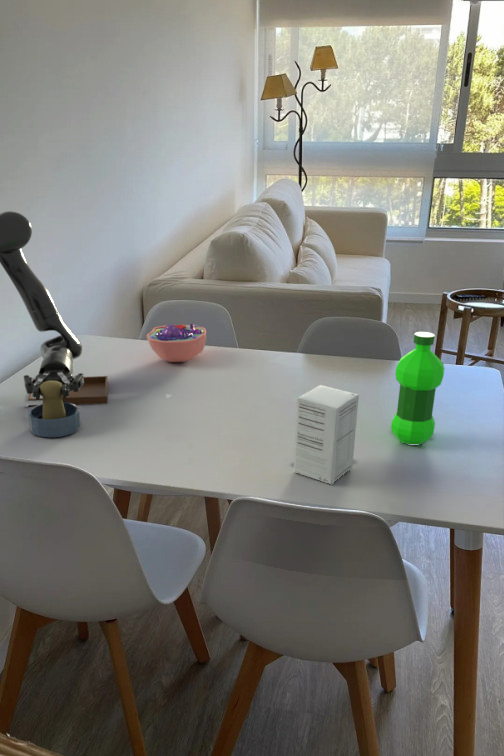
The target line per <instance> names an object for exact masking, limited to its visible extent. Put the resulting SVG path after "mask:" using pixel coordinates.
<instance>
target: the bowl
mask: <svg viewBox="0 0 504 756" xmlns="http://www.w3.org/2000/svg"><path fill="white" fill-rule="evenodd" d="M63 404H64V408H65V412H66V416H67V417H65V418H60V419H50V420H46V419H42V415H43V403H40V404H36V405H37V406H34V407H30V409H28V413H27V417H28V418H27V419H28V424H29V431H30V432H31V433H32V435H35V436H38V437H43V438H61V437H66V436H69V435H72V434H74V433H76V432H77V431H79V430H80V429H81V426H82V424H81V422H82V421H81V413H80V411H81V410H80V407H79V405H75V404H72V403H68V402H63Z"/></svg>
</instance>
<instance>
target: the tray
mask: <svg viewBox="0 0 504 756" xmlns="http://www.w3.org/2000/svg"><path fill="white" fill-rule="evenodd" d="M83 377H84V385H83V386H82V387H81V389H80V390H79V391H78V392H74V391H73V390H72V391H71V392H70V395H69V396H67V397H66V398H63V394H62V400H63V402H68V403H72V404H75V405H77V406H84V405H105V404H108V399H109V376H108V375H99V376H98V375H97V376H83ZM72 383H73V382H72ZM27 397H28V398H27V401H29V402H30V401H43V397H40V399H36V397H33V393H31V394H28V396H27ZM37 405H38V404H29V405H28V408H33V407H34V406H37Z"/></svg>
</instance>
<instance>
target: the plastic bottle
mask: <svg viewBox="0 0 504 756" xmlns="http://www.w3.org/2000/svg"><path fill="white" fill-rule="evenodd" d="M435 336H436V335H435V334H434V333H433V332H428V331H416V332H415V333H414V336H413V337H414V338H413V343H414V344H415V348H414V349H413V350H410V351H409V352H407V353H406V354H405V355H404V356H402V357H400V359H399V361H398V363H397V365H396V368H395V380H396V382H398V383H399V392H398V399H397V400H398V401H397V409H396V412H395V413H394V416H393V418H392V421H391V425H390V429H391V432H392V434H393V435H394V436H395V437H396V438H397V439H398V441H399V442H400V441H401V442H400V443H402V442H404V443H407V444H420V443H422V444H423V443H425V442H428V441H429V440H430V439H431V438H432V436H433V435H434V432H435V426H436V422H435V419H434V416H433V411H434V403H435V397H436V391H437V390H436V389H437V388H438V387H440V386H441V384H442V382H443V379H444V375H445V365H444V362H443V361H442V360H441V358H439V357H438V355H436V354H435V353H434V352H433V351H432V350H431V347H432V345H434V343H435ZM420 445H421V444H420Z"/></svg>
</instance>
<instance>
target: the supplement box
mask: <svg viewBox="0 0 504 756" xmlns="http://www.w3.org/2000/svg"><path fill="white" fill-rule="evenodd" d="M359 398H360V395H359V394H357V393H354V392H350V391H346V390H341V389H339V388H335V387H330V386H327V385H322V384H319V385H318V386H316V387H314V388H312V389H311V390H309V391H307V392H306V393H304V394H302V395H300V396H298V397H297V398H296V414H295V415H296V416H295V434H294V435H295V436H294V437H295V438H294V457H293V473H294V472H297V473H300V474H303V475H306V476H309V477H312V478H315V479H318V480H321V481H324V482H327V483H330V484H332V483H333V484H335V483H336V482H337V481H338V480H340V479H341V478H342V477H343V476H345V475H346V474H347V473H348V472H350V471H351V470H352V469H353V465H354V453H355V442H356V431H357V430H356V429H357V420H358V409H359ZM351 468H352V469H351ZM350 469H351V470H350ZM349 470H350V471H349ZM347 471H348V472H347ZM346 472H347V473H346ZM345 473H346V474H345ZM344 474H345V475H344ZM342 475H343V476H342ZM341 476H342V477H341ZM340 477H341V478H340ZM339 478H340V479H339ZM337 479H338V480H337ZM336 480H337V481H336ZM335 481H336V482H335ZM334 482H335V483H334ZM333 484H332V485H333Z"/></svg>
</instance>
